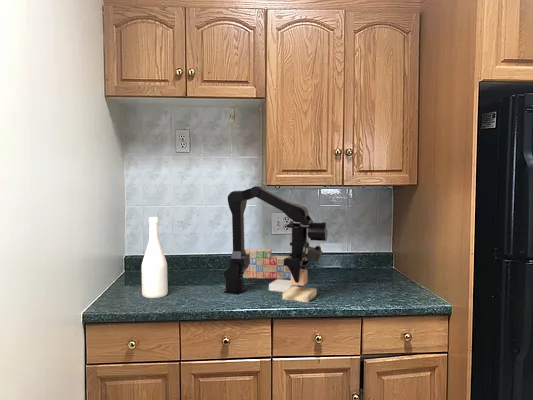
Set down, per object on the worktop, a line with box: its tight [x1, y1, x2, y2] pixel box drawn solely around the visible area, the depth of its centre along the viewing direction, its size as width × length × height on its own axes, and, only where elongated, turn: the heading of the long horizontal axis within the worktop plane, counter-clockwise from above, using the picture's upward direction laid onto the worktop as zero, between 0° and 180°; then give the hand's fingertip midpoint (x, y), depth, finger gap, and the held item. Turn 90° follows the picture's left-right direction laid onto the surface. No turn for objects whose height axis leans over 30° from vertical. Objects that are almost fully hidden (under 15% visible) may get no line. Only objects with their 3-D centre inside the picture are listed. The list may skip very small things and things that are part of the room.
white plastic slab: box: [268, 279, 299, 293], centre depth 184 cm, size 9×9×3 cm
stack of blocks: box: [242, 248, 291, 280], centre depth 205 cm, size 21×6×12 cm, turn 83°
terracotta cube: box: [290, 268, 308, 287], centre depth 172 cm, size 5×5×5 cm
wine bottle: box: [141, 216, 168, 299], centre depth 174 cm, size 10×10×30 cm
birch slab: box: [282, 286, 318, 303], centre depth 172 cm, size 10×10×3 cm
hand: (298, 280), depth 172 cm, fingers closed on terracotta cube, 5 cm apart
